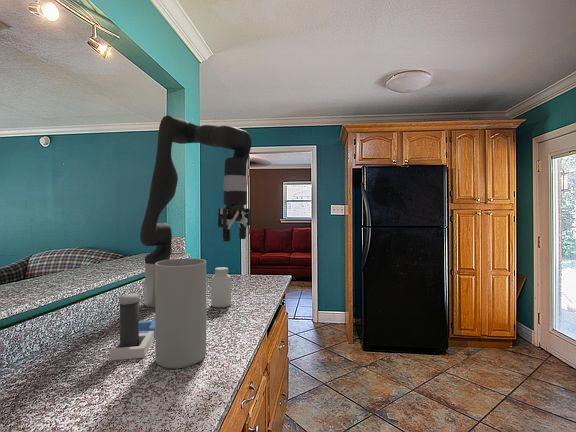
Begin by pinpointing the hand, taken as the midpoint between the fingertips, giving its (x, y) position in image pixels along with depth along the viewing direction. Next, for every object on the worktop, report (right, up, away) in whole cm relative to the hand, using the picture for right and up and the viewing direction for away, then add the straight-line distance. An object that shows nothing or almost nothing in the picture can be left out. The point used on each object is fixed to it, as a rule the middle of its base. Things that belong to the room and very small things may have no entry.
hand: (234, 240), depth 101 cm
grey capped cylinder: (-26, -29, -16) cm, 42 cm away
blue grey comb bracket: (-26, -29, -11) cm, 40 cm away
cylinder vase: (-11, -29, -20) cm, 37 cm away
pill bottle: (-10, -29, +25) cm, 39 cm away
